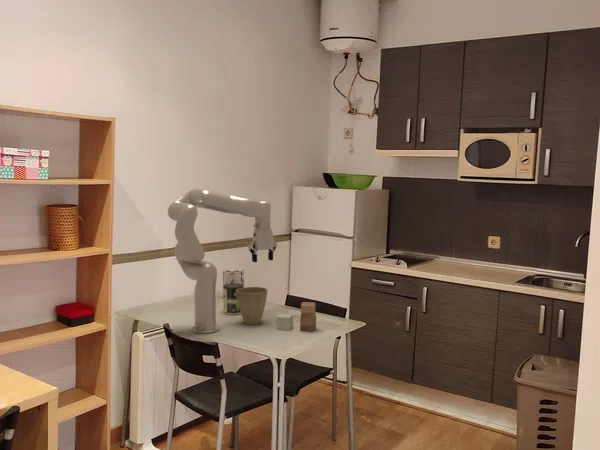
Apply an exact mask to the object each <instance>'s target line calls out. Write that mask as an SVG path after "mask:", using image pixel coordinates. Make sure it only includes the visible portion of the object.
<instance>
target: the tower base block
mask: <svg viewBox="0 0 600 450" xmlns="http://www.w3.org/2000/svg"><path fill="white" fill-rule="evenodd" d="M299 318H300V319H299V325H300V326H299V328H300V329H299V331H300V332H310V333H311V332H313V333H314V331H315V330H316V329H317V315H315V318H314V319H310V318H301V317H299Z"/></svg>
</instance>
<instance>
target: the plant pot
mask: <svg viewBox="0 0 600 450" xmlns="http://www.w3.org/2000/svg"><path fill="white" fill-rule="evenodd" d="M236 293H237V299H238V304H239V308H240V311H241V314H240V315H241V317H242V321H243V322H244V323H245V325H259V324H260V323H261V321H262V319H263V318H262V317H263V315H264V311H265V308H266V307H265V306H266V303H267V298H268V289H267V288H265V287H263V286H262V287H261V286H246V287H245V286H244V288H240V289H237V290H236Z"/></svg>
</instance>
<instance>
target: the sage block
mask: <svg viewBox="0 0 600 450" xmlns="http://www.w3.org/2000/svg"><path fill="white" fill-rule="evenodd" d="M293 317H294V316H293V314H288V313H279V314H278V315H277V316H276V330H280V331H290V330H291V329H292V328H293V327H294V325H293V324H294V322H293V321H294V318H293Z"/></svg>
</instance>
